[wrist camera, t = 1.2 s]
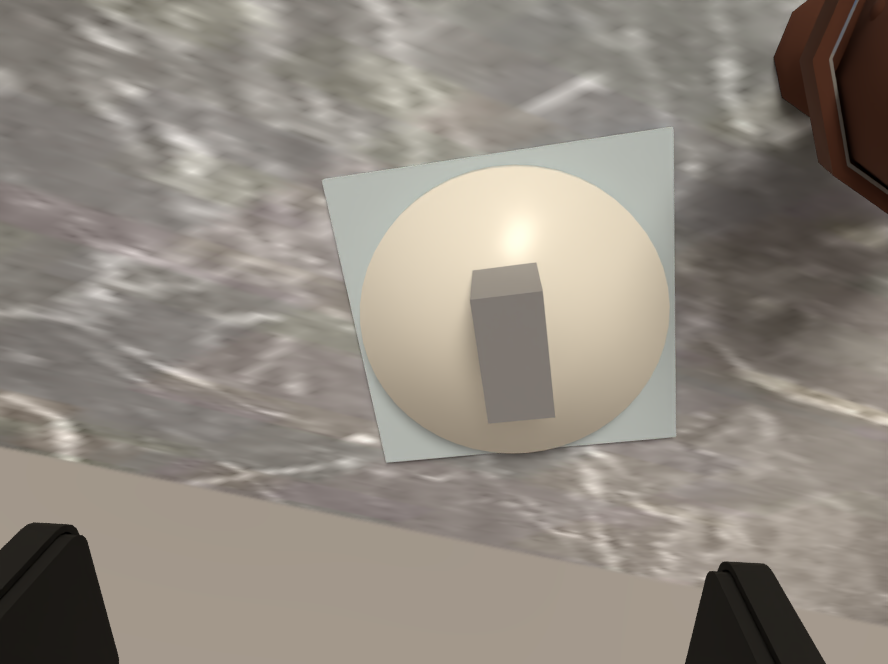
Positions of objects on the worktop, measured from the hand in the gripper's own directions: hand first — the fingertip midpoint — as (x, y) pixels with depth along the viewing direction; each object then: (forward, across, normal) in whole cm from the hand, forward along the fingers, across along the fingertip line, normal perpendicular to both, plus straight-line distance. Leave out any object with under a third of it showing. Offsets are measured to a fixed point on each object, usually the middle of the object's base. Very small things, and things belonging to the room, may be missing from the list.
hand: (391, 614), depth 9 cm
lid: (+22, -3, +4) cm, 22 cm away
